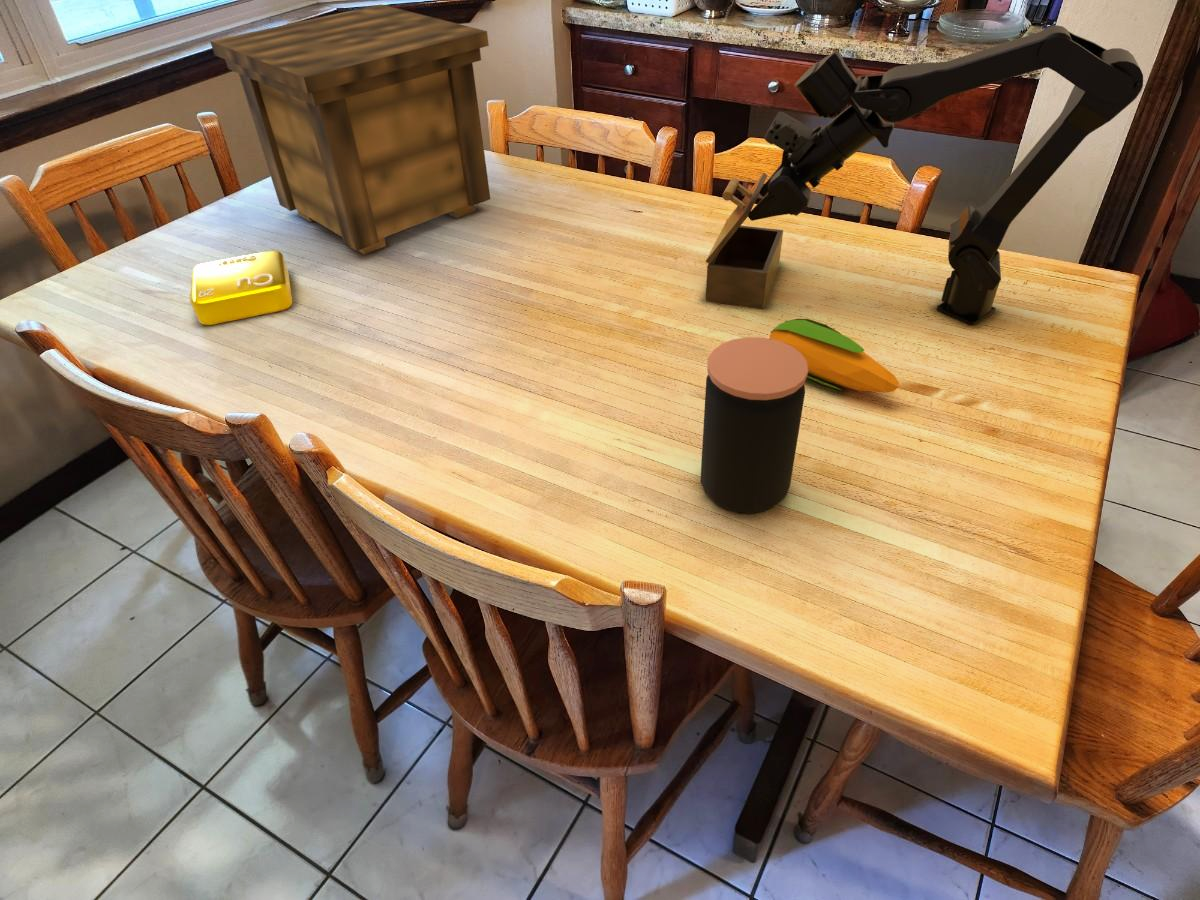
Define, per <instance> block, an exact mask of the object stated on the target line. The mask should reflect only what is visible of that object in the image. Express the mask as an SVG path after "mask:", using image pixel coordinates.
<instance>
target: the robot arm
mask: <svg viewBox="0 0 1200 900" xmlns="http://www.w3.org/2000/svg"><path fill="white" fill-rule="evenodd" d="M1043 69H1049V70H1051V71H1052V72H1053V71H1054V72H1055V73H1057V74H1058V75H1059V76H1060V77H1062V78H1064V79H1065V80H1066V81H1068V82H1070V83H1071V84H1072V85H1074V86H1073V87H1072V90H1071V92H1070V94H1069V96H1068V98H1067V100H1066V102H1065V104H1064V106H1063V109H1062V111H1061V113H1060V114H1059V116H1058V117H1057V118H1056V119H1055V120H1054V121H1053V123H1052V124H1051V125H1050V126H1049V127H1048V129H1047V130H1046V131H1045V133H1044V134H1043V135H1042V136H1041V137H1040V138H1039V140H1038V141H1037V142H1036V143H1035V144H1034V146H1032V148H1031V149H1030V151H1029V152H1028V153H1027V154H1026V155H1025V156H1024V158H1023V159H1022V160H1021V161H1020V162H1019V164H1018V165H1017V166H1016V168H1015V169H1014V170H1013V171H1012V172H1011V173H1010V174H1009V176H1008V177H1007V178H1006V179H1005V181H1004V182H1003V183H1002V184H1001V185H1000V187H999V188H998V189H997V190H996V192H995V193H994V194H993V195H992V196H991V197H990V198H989V200H988V201H987V202H985V203H984V204H983V205H981V206H979V207H977V208H974V207H973V206H972V205H971V204H967V206H966V207H965V208H964V210H963V211H962V213H961V215H960V216H959V217H958V218H957V220H955V221H954V222H953V223H950V233H949V237H948V253H947V259H948V264H949V265H950V267H951V269H952V271H951V274H950V276H949V277H947V278H946V281H945V285H944V288H943V292H942V296H941V299H940V300H941V303H939V304H938V305H937V306H936V309H935V310H936V311H938V312H940V313H943V314H946V316H947V315H948V316H950V317H952V318H954V319H956V320H959V321H961V322H963V323H965V324H968V325H970V326H974V325H976V324H977V323H979V322H981V321H983V320H984V319H986V318H987V317H989V316H991V315H993V314H994V313H995V312H996V310H997V308H996V307H995V306H993V305H994V301H995V298H996V295H997V292H998V289H999V286H1000V282H1001V280H1002V271H1001V256H1000V255H1001V254H1000V251H999V248H1000V246H1001V244H1002V242H1003V241H1004V238H1005V236H1006V233H1007V231H1008V229H1009V228H1010V225H1011V224H1012V223H1013V222H1014V220H1015V219H1016V218H1017V217H1018V216H1019V214H1020V213H1021V212H1022V211H1023V209H1025V207H1027V205H1028V204H1029V203H1030V201H1031V200H1032V199H1033V198H1034V197H1035V196H1036V195H1037V193H1038V192H1039V191H1040V190H1041V189H1042V188H1043V187H1044V186H1045V184H1047V182H1048V181H1049V180H1050V179H1051V177H1053V176H1054V174H1055V173H1056V172H1057V170H1058V169H1059V168H1060V167H1061V166H1062V164H1064V162H1066V160H1067V159H1069V157H1070V156H1071V155H1072V154H1073V152H1074V151H1075V150H1076V149H1077V148H1078V146H1079V145H1080V144H1081V143H1082V142H1083V141H1084V139H1085V138H1087V137H1088V136H1089V135H1090V134H1091V133H1093V132H1095V131H1096V130H1098V129H1100V128H1101V127H1103V126H1104V125H1106V124H1108V123H1109V122H1110V121H1112V120H1113V119H1114V118H1116V117H1117V116H1118V115H1119V114H1120V113H1121V112H1122V111H1123V110H1125V109H1126V108H1127V107H1128V106H1129V105H1131V103H1133V102H1134V101H1135V100H1136V99H1137V98H1138V96H1139V95H1140V94H1141V92H1142V89H1143V87H1144V74H1143V71H1142V69H1141V68H1140V66H1139V64H1138V62H1137V60H1136V59H1135V56H1134V55H1133V54H1132V53H1131V52H1130V51H1129V50H1127V49H1124V48H1120V47H1119V48H1118V47H1117V48H1115V47H1113V48H1109V49H1106V48H1105V47H1103V46H1101V45H1099V44H1097V43H1096V42H1094V41H1091V40H1089V39H1086V38H1084V37H1081V36H1079V35H1077V34H1074V33H1072V32H1071V31H1069V30H1068V29H1067V28H1066V27H1065V26H1062V25H1051V26H1048V27H1046V28H1045V29H1043V30H1040V31H1038V32H1036V33H1032V34H1029V35H1025V36H1023V37H1020V38H1017V39H1013V40H1010V41H1007V42H1004V43H1000V44H998V45H995V46H991V47H988V48H985V49H982V50H981V49H980V50H978V51H976V52H973V53H969V54H966V55H963V56H960V57H956V58H953V59H950V60H947V61H940V62H918V63H910V64H904V65H903V64H902V65H898V66H895V67H892V68H889V70H887V71H886V72H885V73H879V74H867V75H859V76H858V77H856V76H855V74H854V73H853V72H852V71H851V68H849V66H848V65H847V64H846V63H845V60H844V58H843V56H842V55H841V53H840V52H839V50H836V49H835V50H833V51H832V52H831V53H830V54H829V55H826V56H825V57H824V58H822V59H821V60H820V61H816V62H815V63H814V64H813V65H812V66H811V67H809V68H808V69H807V70H806V71H805V73H803V74H802V75H801V76H800V78H798V80H797V81H796V82H794V83H795V84H794V88H795V89H796V90H797V91H798V93H799V94H800V95H801V97H803V99H804V100H805V101H806V103H807V104H808V105H809V106H810V108H811V109H812V110H813V112H814V113H815V114H816V115H817V116H818V117H819V118H821V117H823V118H824V119H827V118H833V117H834V116H835V115H837V114H838V113H839V112H840V113H839V114H838V115H837V116H835V117H834V118H833V119H831V120H830V121H829V122H828V123H826V124H822V125H820V124H818V125H817V126H816V127H813V129H811V128H810V127H808V126H807V125H805V124H804V123H803V122H801V121H800V120H798V119H796V118H795V117H792V116H791V115H789V114H788V113H786V112H783V111H778V112H777V114H776V116H775V117H774V119H773V121H772V123H771V125H770V126H769V128H768V129H767V132H766V133H765V135H764V136H763V139H764V141H765V142H767V143H768V144H770V145H774V146H776V147H777V148H779V149H781V150H782V155H781V162H780V165H779V166H778V167H777V168H776V170H775V171H774V172H773V173H772V174H771V175H770V177H769V178H768V179H767V181H765V182H764V184H763V186H762V188H761V191H760V193H759V195H760V196H761V197H762V198H761V199H760V200H759V202H758V203H756V205H755V206H753V208H752V210H751V212H750V214H749V216H748V217H747V218H748V219H749V220H750V221H751V222H753V221H759V220H762V219H768V218H772V217H779V216H787V215H790V216H799V215H800V214H801V213H802V212H804V211H805V210H806V209H807V208H808V206H809V203H810V200H811V195H812V190H811V188H810V187H809V185H811V187H812V188H813V189H815V188H816V187H818V186H820V183H821V180H822V179H823V178H825V176H827V175H828V174H830V173H831V172H832V171H833V170H836V171H839V170H840V169H841V168H843V166H844V163H845V161H847V160H848V159H849V158H851V157H852V156H853V155H854V154H856V153H857V152H858V151H860V150H861V149H863V148H864V147H865V146H866V145H868V144H869V143H870V142H872V141H873V140H875V139H877V141H878V143H880V145H881V147H883V148H884V149H886V148H888V147H889V144H890V139H891V135H892V132H893V130H894V128H895V123H901V122H903V121H906V120H908V119H910V118H913V117H914V116H916V115H918V114H921V113H923V112H925V111H926V110H928V109H930V108H932V107H934V106H935V105H936V104H938V103H939V102H942V101H943V100H945V99H947V98H949V97H953V96H955V95H958V94H962V93H965V92H968V91H971V90H975V89H978V88H982V87H985V86H989V85H992V84H995V83H999V82H1002V81H1005V80H1010V79H1012V78H1016V77H1019V76H1022V75H1025V74H1028V73H1029V74H1030V73H1032V72H1035V71H1039V70H1043ZM849 104H850V105H849ZM848 105H849V106H848ZM846 106H848V107H846ZM845 107H846V108H845ZM844 108H845V109H844ZM842 110H843V111H842ZM841 111H842V112H841ZM807 183H809V185H807Z"/></svg>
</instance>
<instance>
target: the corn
mask: <svg viewBox="0 0 1200 900" xmlns="http://www.w3.org/2000/svg"><path fill="white" fill-rule="evenodd" d="M768 339H773V340H778V341H780V342H783V343H785V344H788V345H790V346H792V347H793V348H795V349H796V350H797V351H799V352H800V353H801V354H802V355H803V357H804V358H805V359H806V361H807V365H808V375H807V378H806V379H810V380H812V381H814V382H816V383H818V384H821V385H824V386H827V387H830V388H833V389H836V390H839V391H842V392H843V391H844V390H843V389H842V388H840V387H838V386H841V387H844V388H848V389H852V390H856V391H859V392H860V391H861V392H874V393H892V392H895V391H896V390H897V389H898V388H899V385H900V382H899V380H898V379H897V377H896V375H895V374H893V373H892V371H891V372H890V370H889V369H887V368H885V367H884V366H883V365H882V364H881V363H879V362H878V361H876V360H875V359H874V358H873V357H871V356H870V355H869V354H868V353H866V352H865V349H864V348H863V347H862V346H861V345H860V344H859V343H857V342H856V341H855V340H853V339H852V338H850V337H848V336H846V335H844V334H842V333H841V332H839V331H838V330H836V329H834V328H832V327H831V326H829V325H828V324H825V323H822V322H818V321H815V320H814V319H813V320H812V319H809V318H794V319H789V320H785V321H784V322H782V323H780V324H778V325H777V326H775V327H774V328H773V329H772V330H771V331H770V334H769V338H768ZM825 381H826V382H825ZM832 384H834V385H832ZM835 385H837V386H835Z"/></svg>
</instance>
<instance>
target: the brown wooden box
mask: <svg viewBox="0 0 1200 900" xmlns="http://www.w3.org/2000/svg"><path fill="white" fill-rule="evenodd" d="M783 235H784V230H783V229H778V228H777V229H776V228H769V227H768V228H767V227H759V226H750V225H741V226H740V227H739V228H738V229H737V231H736V232H735V233H734V234H733V236H732V237H731V238H730V239H729V241H728V242H727V243H726V244H725V246H724V247H723V248H722V249H721V251H720V252H719V253H718V254H717V256H716V257H715V258H714V259H713V261H712V262H711V263H710V264H708V263H707V266H706V282H705V283H706V284H705V302H709V303H710V302H711V303H715V304H724V305H731V306H737V307H746V308H754V309H758V310H759V309H761V310H764V308H765V304H766V302H767V299H768V296H769V293H770V290H771V288H772V285H773V283H774V280H775V278H776V274H777V272H778V269H779V267H780V263H781V261H780V260H781V253H782V244H783V237H784V236H783Z"/></svg>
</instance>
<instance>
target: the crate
mask: <svg viewBox="0 0 1200 900" xmlns="http://www.w3.org/2000/svg"><path fill="white" fill-rule="evenodd" d="M488 36H489V35H488V31H487V30H484V29H480V28H476V27H472V26H469V25H464V24H461V23H456V22H453V21H448V20H444V19H441V18H436V17H433V16H430V15H429V16H428V15H425V14H421V13H417V12H413V11H410V10H409V11H408V10H404V9H401V8H397V7H393V6H389V5H385V4H377V5H371V6H367V7H362V8H358V9H352V10H348V11H343V12H339V13H334V14H329V15H325V16H320V17H315V18H311V19H306V20H302V21H296V22H291V23H287V24H282V25H278V26H274V27H269V28H264V29H260V30H254V31H250V32H246V33H241V34H236V35H231V36H226V37H223V38H222V37H221V38H218V39H213V40H210V41H209V42H210V45H211V49H212V51H213V55H214V56H215V57H218V58H220V59H222V60H225V63H226V66H227V69H228V70H229V71H232V72H235V73H237V74H238V76H239V80H240V83H241V86H242V89H243V92H244V95H245V98H246V101H247V104H248V108H249V111H250V113H251V118H252V120H253V124H254V128H255V130H256V133H257V137H258V139H259V143H260V146H261V149H262V152H263V156H264V159H265V162H266V165H267V169H268V172H269V175H270V178H271V182H272V185H273V187H274V191H275V195H276V198H277V201H278V203H279V206H281V207H283V208H284V209H286V210H288V211H289V212H292V211H295V210H296V211H297V214H298V215H299V216H300V217H301V218H302V219H304V220H306V221H308V222H309V223H311V222H314V221H315V222H317V223H318V224H320V225H322V226H323V227H324V228H327V229H328V230H330V231H331V232H333V233H334V234H336V235H338V236H340V237H341V238H342V241H343V244H344V245H346V246H347V247H348V248H351V249H352V250H354V251H356V252H359V253H361V255H364V256H365V255H367V254H369V253H372V252H376V251H378V250H380V249H383V248H384V247H387V244H386V239H385V238H386V237H388V236H392V235H394V234H396V233H400V232H402V231H404V230H406V229H407V230H408V229H409V228H412V227H415V226H418V225H420V224H423V223H425V222H429V221H430V220H433V219H436V218H438V217H440V216H443V215H445V214H447V215H449V216H451V217H453V218H455V219H458V218H462V217H464V216H466V215H469V214H471V213H474V212H476V211H477V210H476V206H477V205H479V204H482V203H484V202H487V201H490V200H491V193H490V186H489V178H488V171H487V170H488V169H487V163H486V156H485V148H484V140H483V133H482V124H481V117H480V110H479V103H478V102H479V101H478V95H477V87H476V79H475V71H474V65H473V63H476V62H480V61H482V56H481V49H482V48H485V47H489V46H490V44H489V37H488Z"/></svg>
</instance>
